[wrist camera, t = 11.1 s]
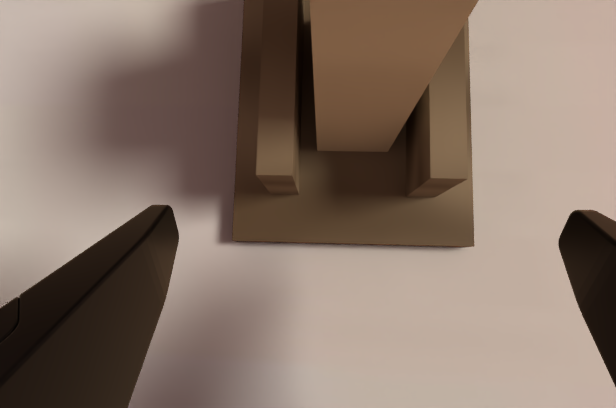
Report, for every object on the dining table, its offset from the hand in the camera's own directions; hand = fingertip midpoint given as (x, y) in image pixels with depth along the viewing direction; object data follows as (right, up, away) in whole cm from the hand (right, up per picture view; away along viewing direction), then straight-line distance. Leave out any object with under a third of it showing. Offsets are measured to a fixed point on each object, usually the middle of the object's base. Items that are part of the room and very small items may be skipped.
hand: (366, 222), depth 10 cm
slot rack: (+1, +6, +10) cm, 11 cm away
